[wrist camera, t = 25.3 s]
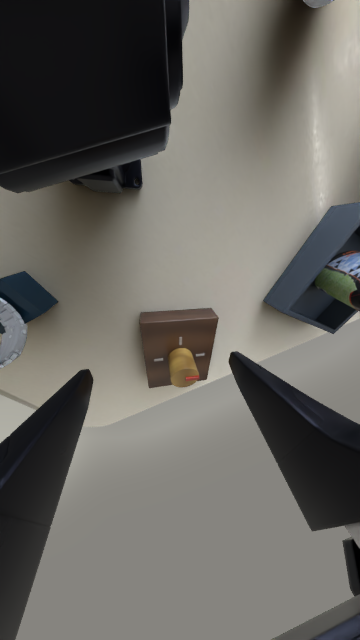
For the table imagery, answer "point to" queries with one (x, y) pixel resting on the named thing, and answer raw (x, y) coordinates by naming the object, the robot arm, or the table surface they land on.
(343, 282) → the beverage can
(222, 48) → the table surface
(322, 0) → the frog figurine
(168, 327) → the brown dial base
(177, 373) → the yellow dial knob
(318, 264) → the dark gray square tray
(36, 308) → the watch
